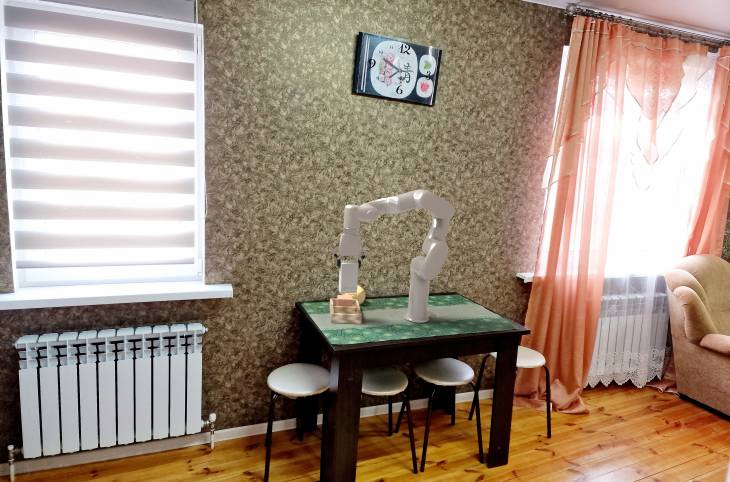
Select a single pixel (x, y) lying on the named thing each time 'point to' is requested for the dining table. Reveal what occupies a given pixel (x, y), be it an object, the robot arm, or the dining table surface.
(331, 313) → the crate
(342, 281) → the skincare box
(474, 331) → the dining table surface
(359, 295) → the sculpture
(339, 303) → the peach cube
